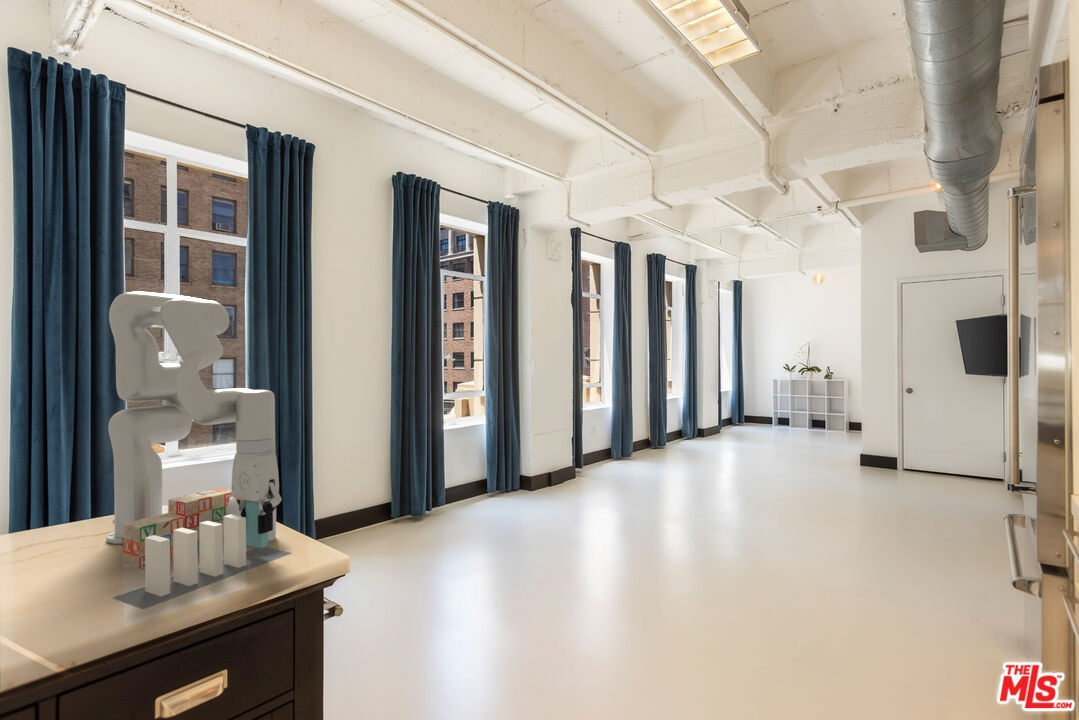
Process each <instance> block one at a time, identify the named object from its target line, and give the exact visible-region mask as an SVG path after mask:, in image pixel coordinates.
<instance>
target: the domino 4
mask: <svg viewBox="0 0 1079 720" xmlns="http://www.w3.org/2000/svg"><path fill="white" fill-rule="evenodd" d="M223 536H224V542H223V559H224V564H226V565H230V566H234V567H237V568H240V567H243V566H245V565H246V551H247V545H246V517H241V516H236V515H231V514H230V515H227V516H223Z"/></svg>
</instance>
